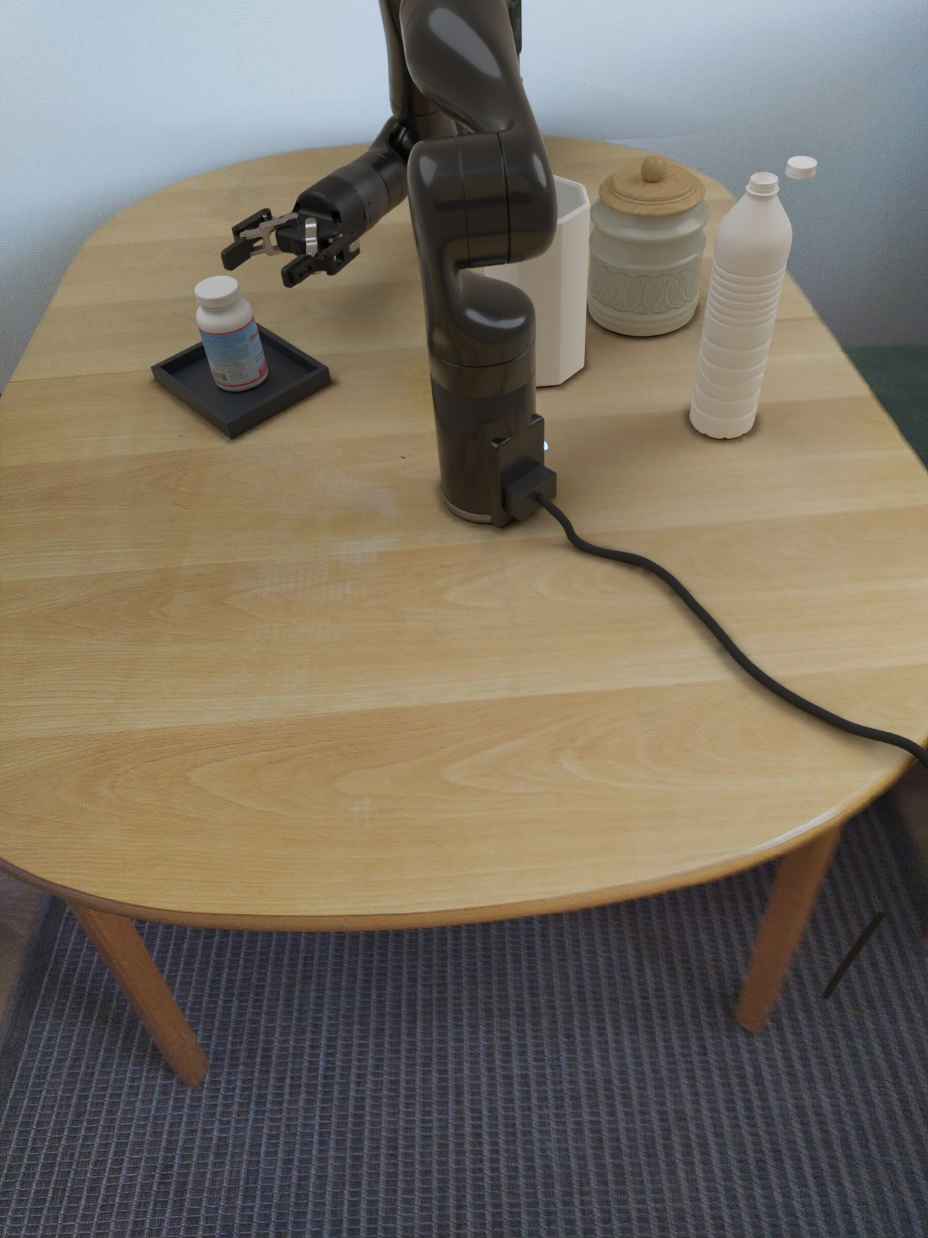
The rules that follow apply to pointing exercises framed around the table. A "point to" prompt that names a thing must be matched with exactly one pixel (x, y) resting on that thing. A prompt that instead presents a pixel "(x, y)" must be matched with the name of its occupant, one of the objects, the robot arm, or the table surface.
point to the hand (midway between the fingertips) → (254, 270)
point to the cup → (558, 287)
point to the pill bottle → (229, 334)
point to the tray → (244, 409)
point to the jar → (647, 248)
